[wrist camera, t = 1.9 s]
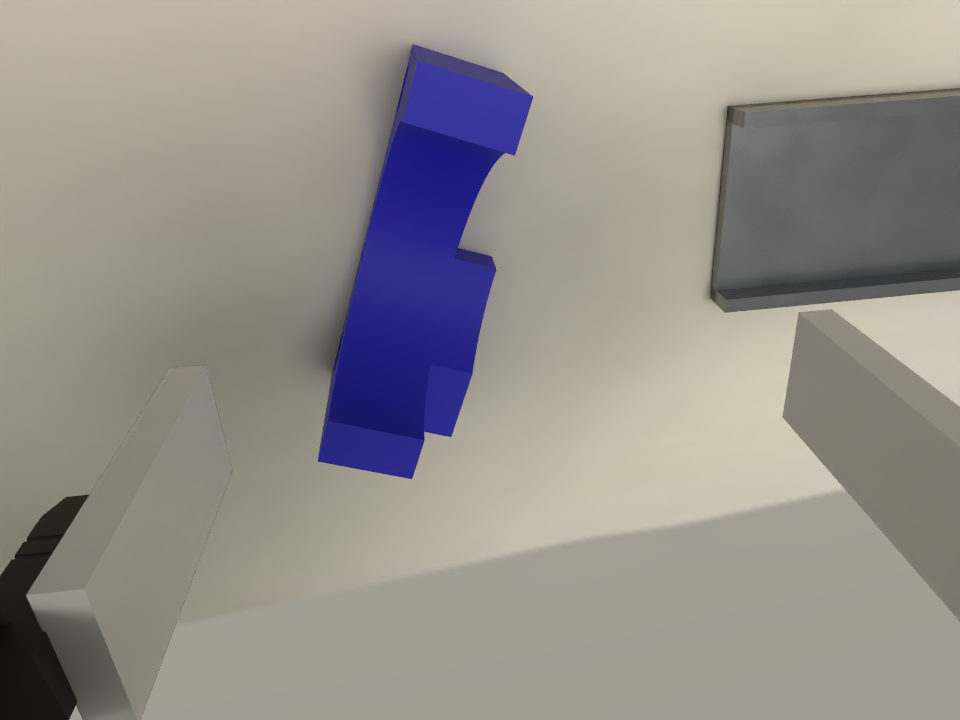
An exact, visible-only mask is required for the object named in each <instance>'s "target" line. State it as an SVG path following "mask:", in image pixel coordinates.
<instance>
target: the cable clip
mask: <svg viewBox="0 0 960 720" xmlns="http://www.w3.org/2000/svg"><path fill="white" fill-rule="evenodd" d="M532 99H533V96H531V95H530V94H529V93H528V92H526V91H525V90H524V89H523V88H521V87H520V86H519V85H517V84H516V83H515V82H514V81H512V80H511V79H510V78H509V77H507V76H506V75H505V74H504V73H501V72H498V71H495V70H492V69H488V68H485V67H482V66H479V65H476V64H473V63H470V62H467V61H464V60H460V59H457V58H454V57H451V56H448V55H445V54H442V53H439V52H435V51H432V50H429V49H426V48H423V47H420V46H417V45H414V44H413V45H412V49H411V54H410V58H409V62H408V66H407V70H406V74H405V78H404V82H403V86H402V90H401V94H400V99H399V103H398V107H397V111H396V115H395V119H394V123H393V127H392V131H391V135H390V139H389V143H388V148H387V152H386V156H385V160H384V164H383V168H382V172H381V176H380V180H379V184H378V188H377V193H376V197H375V201H374V205H373V209H372V213H371V217H370V221H369V225H368V229H367V233H366V238H365V242H364V246H363V250H362V254H361V258H360V262H359V266H358V270H357V274H356V278H355V283H354V287H353V291H352V295H351V299H350V303H349V307H348V311H347V315H346V319H345V323H344V328H343V332H342V336H341V340H340V344H339V348H338V352H337V356H336V360H335V364H334V368H333V373H332V378H331V384H330V390H329V396H328V402H327V408H326V414H325V420H324V426H323V432H322V438H321V444H320V450H319V457H318V462H324V463H329V464H334V465H340V466H345V467H350V468H356V469H361V470H366V471H372V472H377V473H382V474H388V475H393V476H398V477H404V478H409V479H412V478H413V475H414V471H415V468H416V465H417V462H418V459H419V456H420V452H421V449H422V446H423V443H424V432H429V433H434V434H439V435H443V436H448V437H451V436H452V433H453V430H454V427H455V424H456V421H457V418H458V415H459V412H460V409H461V406H462V403H463V400H464V397H465V394H466V391H467V388H468V385H469V382H470V379H471V376H472V372H473V365H474V359H475V353H476V348H477V342H478V337H479V332H480V328H481V323H482V319H483V315H484V311H485V307H486V303H487V299H488V296H489V292H490V288H491V285H492V282H493V278H494V275H495V272H496V267H495V264H494V262H493V259H492V257H490V256H486V255H483V254H479V253H475V252H471V251H467V250H463V249H460V248H458V246H459V243H460V240H461V237H462V234H463V231H464V228H465V225H466V222H467V220H468V217H469V214H470V212H471V209H472V207H473V204H474V202H475V200H476V197H477V195H478V193H479V191H480V188H481V186H482V184H483V182H484V180H485V178H486V177H487V175H488V173H489V171H490V170H491V168H492V167H493V165H494V164H495V162H496V161H497V160H498V159H499V158H500V157H501V156H502V155H503V154H504V153H508V154H512V155H515V153H516V150H517V147H518V144H519V140H520V137H521V134H522V131H523V128H524V125H525V122H526V118H527V115H528V112H529V109H530V106H531V103H532Z"/></svg>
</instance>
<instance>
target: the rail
mask: <svg viewBox="0 0 960 720" xmlns="http://www.w3.org/2000/svg"><path fill="white" fill-rule="evenodd" d="M955 290H960V88H957V89H944V90H931V91H918V92H905V93H892V94H879V95H866V96H853V97H840V98H827V99H814V100H801V101H788V102H775V103H762V104H749V105H736V106H728V113H727V124H726V135H725V146H724V156H723V167H722V178H721V189H720V200H719V210H718V221H717V232H716V243H715V253H714V264H713V275H712V286H711V297H710V298H711V299H712V300H713V301H714V302H715V303H716V304H717V305H718V306H719V307H720V308H721V309H722V310H723V311H724V312H725V313H726V312H736V311H747V310H757V309H768V308H778V307H788V306H799V305H809V304H820V303H830V302H841V301H851V300H862V299H872V298H882V297H893V296H903V295H914V294H924V293H935V292H945V291H955Z"/></svg>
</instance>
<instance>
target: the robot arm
mask: <svg viewBox="0 0 960 720" xmlns="http://www.w3.org/2000/svg"><path fill="white" fill-rule="evenodd" d="M783 418H784V419H785V421H786V422H787V423H788V424H789V425H790V426H791V427H792V429H793V430H794V431H795V432H796V433H797V434H798V435H799V437H800V438H801V439H802V440H803V441H804V442H805V444H806V445H807V446H808V447H809V448H810V449H811V450H812V452H813V453H814V454H815V455H816V456H817V457H818V459H819V460H820V461H821V462H822V463H823V464H824V465H825V467H826V468H827V469H828V470H829V471H830V472H831V474H832V475H833V476H834V477H835V478H836V479H837V480H838V482H839V483H840V484H841V485H842V486H843V487H844V488H845V490H846V491H847V492H848V493H849V494H850V495H851V496H852V498H853V499H854V500H855V501H856V502H857V503H858V505H859V506H860V507H861V508H862V509H863V510H864V512H865V513H866V514H867V515H868V516H869V517H870V518H871V520H872V521H873V522H874V523H875V524H876V525H877V526H878V528H879V529H880V530H881V531H882V532H883V533H884V535H885V536H886V537H887V538H888V539H889V540H890V541H891V542H892V544H893V545H894V546H895V547H896V548H897V550H898V551H899V552H900V553H901V554H902V555H903V556H904V558H906V560H907V561H908V562H909V563H910V564H911V566H912V567H913V568H914V569H915V570H916V571H917V573H918V574H919V575H920V576H921V577H922V578H923V579H924V581H925V582H926V583H927V584H928V585H929V586H930V588H931V589H932V590H933V591H934V592H935V593H936V594H937V596H938V597H939V598H940V599H941V600H942V601H943V603H944V604H945V605H946V606H947V607H948V608H949V609H950V611H952V613H953V614H954V615H955V616H956V618H957V619H959V621H960V407H959V406H958V405H957V404H955V403H954V402H953V401H951V400H950V399H949V398H947V397H946V396H945V395H943V394H942V393H941V392H940V391H938V390H937V389H936V388H934V387H933V386H932V385H930V384H929V383H928V382H926V381H925V380H924V379H922V378H921V377H920V376H919V375H917V374H916V373H915V372H913V371H912V370H911V369H909V368H908V367H907V366H905V365H904V364H903V363H901V362H900V361H899V360H898V359H896V358H895V357H894V356H892V355H891V354H890V353H888V352H887V351H886V350H884V349H883V348H882V347H881V346H879V345H878V344H877V343H875V342H874V341H873V340H871V339H870V338H869V337H867V336H866V335H865V334H863V333H862V332H861V331H860V330H858V329H857V328H856V327H854V326H853V325H852V324H850V323H849V322H848V321H846V320H845V319H844V318H842V317H841V316H840V315H839V314H837V313H836V312H835V311H833V310H832V309H831V310H820V311H809V312H799V314H798V320H797V327H796V333H795V340H794V346H793V353H792V359H791V366H790V373H789V379H788V386H787V392H786V399H785V405H784V412H783ZM232 470H233V469H232V466H231V462H230V458H229V454H228V450H227V446H226V442H225V438H224V434H223V431H222V427H221V423H220V419H219V415H218V411H217V407H216V403H215V399H214V396H213V392H212V388H211V384H210V380H209V376H208V372H207V368H206V365H199V366H188V367H177V368H169V370H168V371H167V373H166V374H165V376H164V378H163V379H162V381H161V382H160V384H159V386H158V387H157V389H156V390H155V392H154V393H153V395H152V397H151V398H150V400H149V401H148V403H147V405H146V406H145V408H144V409H143V411H142V412H141V414H140V416H139V417H138V419H137V420H136V422H135V424H134V425H133V427H132V428H131V430H130V431H129V433H128V435H127V436H126V438H125V439H124V441H123V443H122V444H121V446H120V447H119V449H118V450H117V452H116V454H115V455H114V457H113V458H112V460H111V462H110V463H109V465H108V466H107V468H106V469H105V471H104V473H103V474H102V476H101V477H100V479H99V481H98V482H97V484H96V485H95V487H94V488H93V490H92V492H91V493H90V495H82V496H72V497H66V498H64V499H63V500H62V501H61V502H59V503H58V504H57V505H56V506H54V507H53V508H52V509H51V510H49V511H48V512H47V513H46V514H44V515H43V516H42V517H41V518H40V520H39V521H38V523H37V524H36V525H35V527H34V528H33V530H32V531H31V533H30V534H29V536H28V537H27V542H24V543H23V544H22V546H21V547H20V548H19V550H18V551H17V553H16V554H15V560H11V561H10V563H9V564H8V566H7V567H6V569H5V570H4V571H3V573H2V574H1V576H0V720H69V719H70V716H71V714H72V712H73V710H74V708H75V706H77V708H78V710H79V713H80V715H81V717H82V719H83V720H141V718H142V715H143V712H144V710H145V706H146V704H147V701H148V699H149V696H150V693H151V690H152V688H153V685H154V682H155V680H156V677H157V674H158V671H159V668H160V666H161V663H162V660H163V658H164V655H165V652H166V650H167V647H168V644H169V642H170V639H171V636H172V633H173V631H174V628H175V625H176V623H177V620H178V617H179V614H180V612H181V609H182V606H183V603H184V601H185V598H186V595H187V593H188V590H189V587H190V584H191V582H192V579H193V576H194V574H195V571H196V568H197V565H198V563H199V560H200V557H201V555H202V552H203V549H204V546H205V544H206V541H207V538H208V535H209V533H210V530H211V527H212V525H213V522H214V519H215V516H216V514H217V511H218V508H219V506H220V503H221V500H222V497H223V495H224V492H225V489H226V487H227V484H228V481H229V478H230V476H231V473H232Z"/></svg>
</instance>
